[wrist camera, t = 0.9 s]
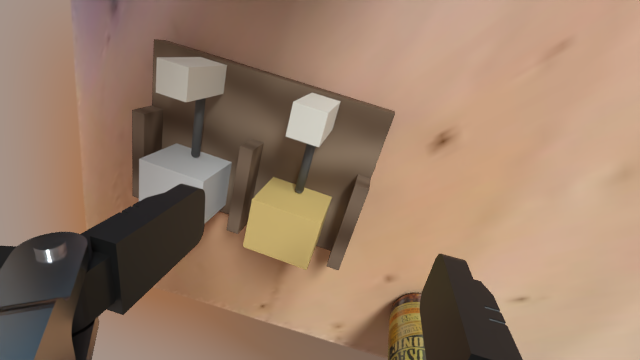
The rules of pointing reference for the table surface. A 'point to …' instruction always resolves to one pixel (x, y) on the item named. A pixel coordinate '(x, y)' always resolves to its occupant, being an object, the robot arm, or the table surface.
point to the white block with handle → (190, 163)
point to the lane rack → (269, 142)
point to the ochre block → (294, 192)
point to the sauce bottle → (406, 329)
